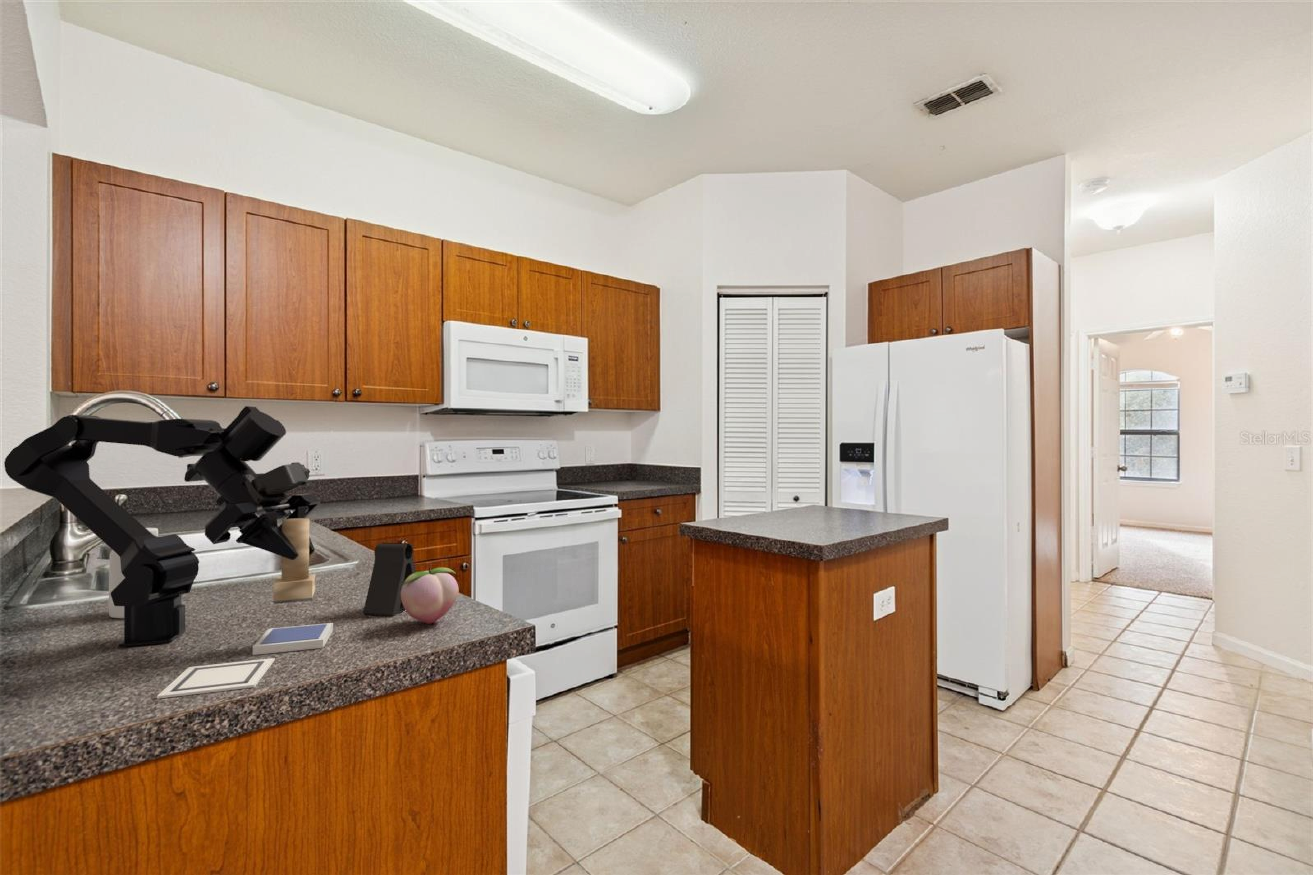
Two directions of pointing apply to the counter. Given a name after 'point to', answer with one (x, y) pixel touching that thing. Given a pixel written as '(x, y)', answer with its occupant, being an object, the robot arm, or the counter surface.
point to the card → (217, 678)
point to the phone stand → (389, 578)
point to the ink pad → (293, 638)
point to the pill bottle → (118, 579)
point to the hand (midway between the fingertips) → (304, 555)
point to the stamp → (295, 565)
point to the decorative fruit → (429, 594)
